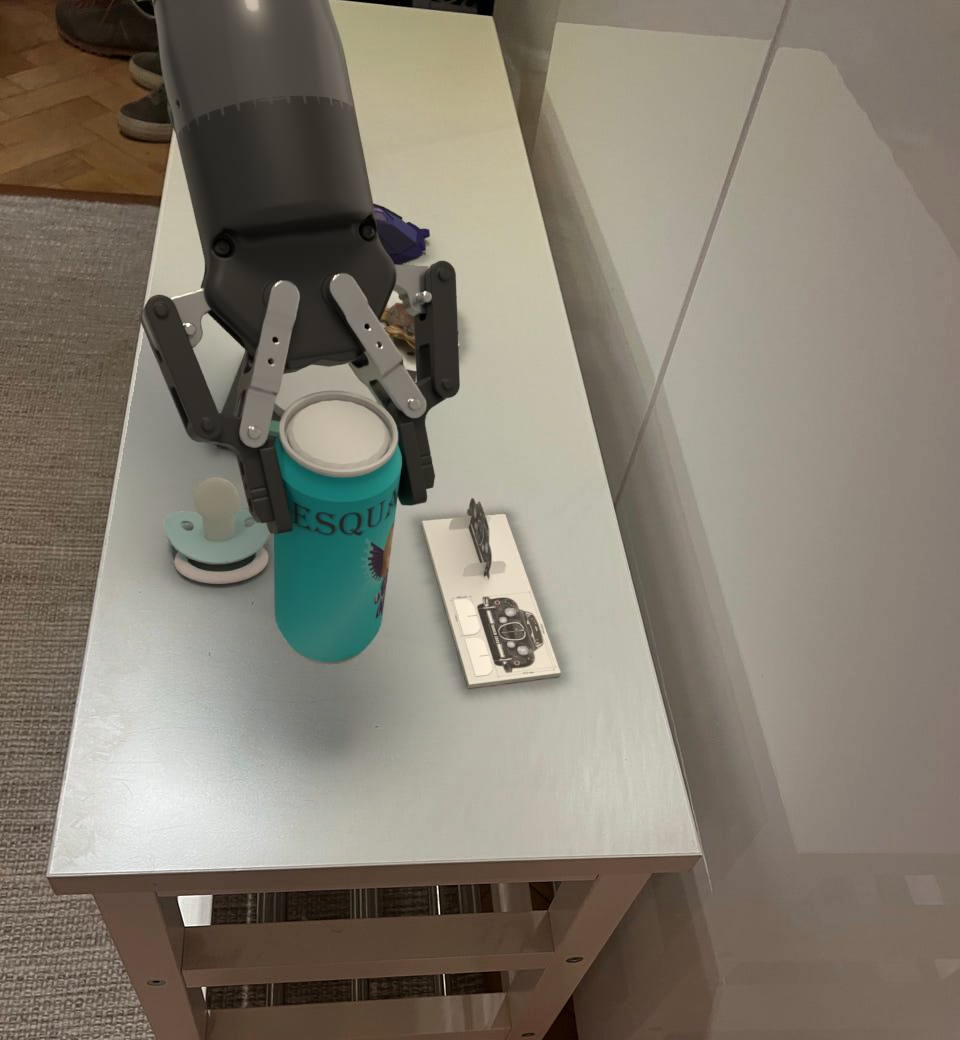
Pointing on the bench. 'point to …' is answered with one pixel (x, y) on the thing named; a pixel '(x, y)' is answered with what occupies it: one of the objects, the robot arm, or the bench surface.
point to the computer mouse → (399, 236)
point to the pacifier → (217, 535)
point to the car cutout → (488, 599)
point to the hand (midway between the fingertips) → (349, 516)
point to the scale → (304, 390)
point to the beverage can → (335, 523)
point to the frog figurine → (400, 330)
